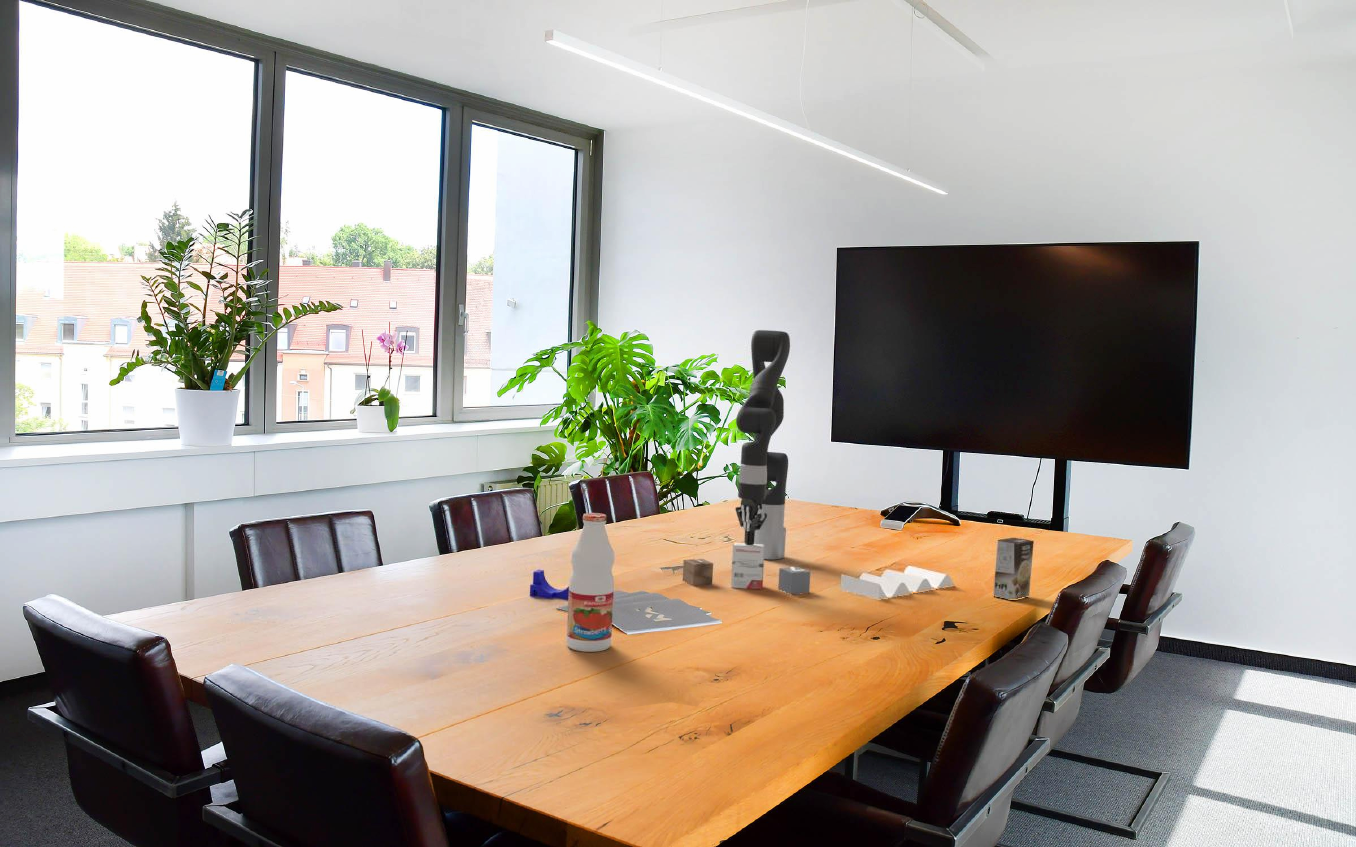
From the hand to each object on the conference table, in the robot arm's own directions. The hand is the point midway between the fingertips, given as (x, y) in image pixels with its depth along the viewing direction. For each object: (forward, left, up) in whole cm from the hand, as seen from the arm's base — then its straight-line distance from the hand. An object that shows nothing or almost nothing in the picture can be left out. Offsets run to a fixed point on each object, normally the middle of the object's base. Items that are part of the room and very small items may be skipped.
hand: (749, 544), depth 269 cm
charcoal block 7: (-10, +8, -12) cm, 17 cm away
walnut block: (+11, -8, -12) cm, 18 cm away
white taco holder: (-42, +13, -13) cm, 46 cm away
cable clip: (+54, -4, -12) cm, 55 cm away
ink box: (0, 0, -12) cm, 12 cm away
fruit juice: (+62, +37, -12) cm, 73 cm away
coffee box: (-67, +31, -12) cm, 75 cm away
